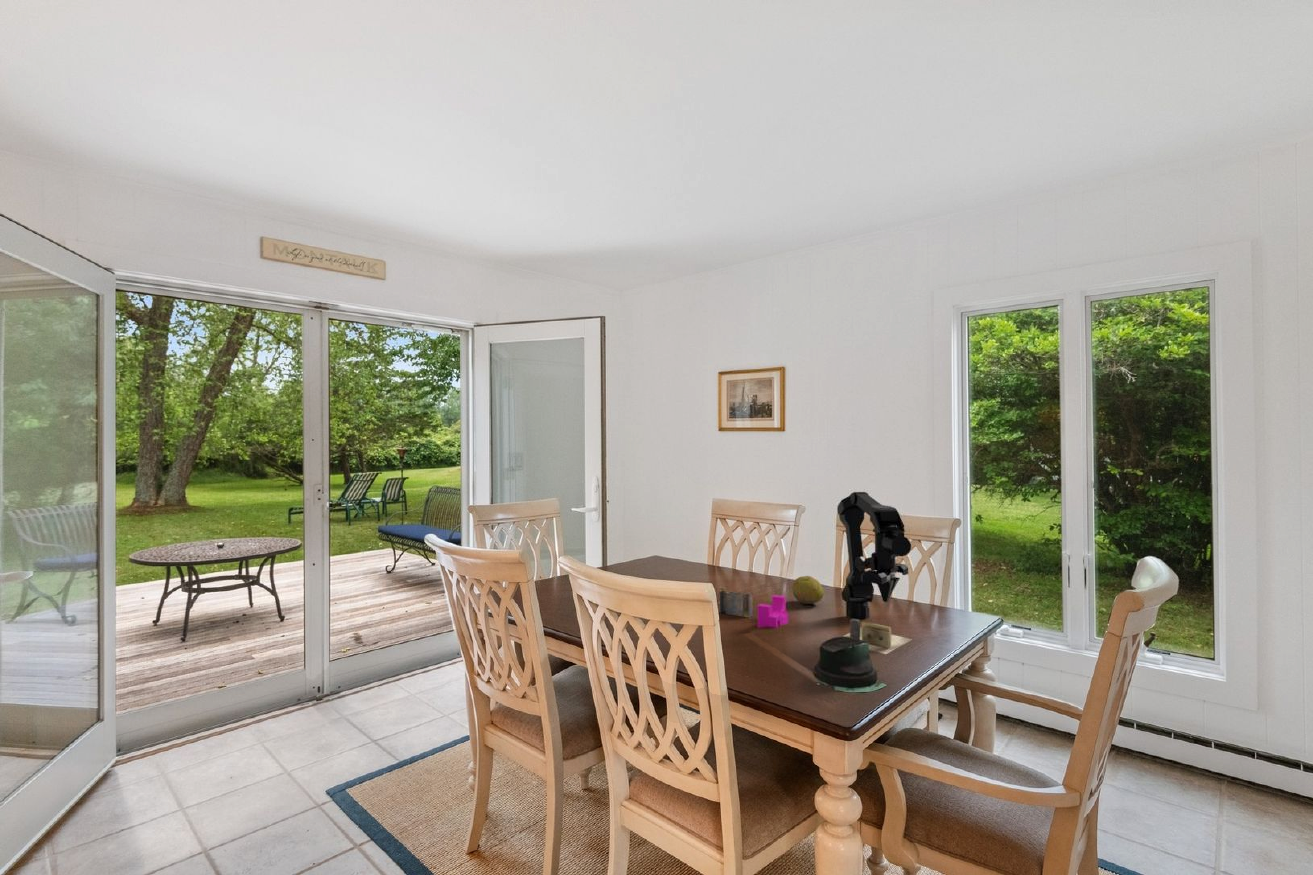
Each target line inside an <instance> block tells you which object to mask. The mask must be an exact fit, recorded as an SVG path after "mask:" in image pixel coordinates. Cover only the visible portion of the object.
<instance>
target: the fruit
mask: <svg viewBox="0 0 1313 875" xmlns="http://www.w3.org/2000/svg"><path fill="white" fill-rule="evenodd" d="M793 581H794V582H793V583H792V585H791V586H792V587H791V589H792V595H793V597H794V598H795V599H796V600H797V602H800V603H801V604H803V605H813V604H816V603H818V602H820V601H821V600H822V599H823V598H824V595H825V593H824V588H823V586H822V585H821V583H820V581H819V580H818V579H816V578H814V577H813V576H810V575H805V576H802V575H801V576H799V577H797V578H796V579H795V580H793Z"/></svg>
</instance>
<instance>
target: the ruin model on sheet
mask: <svg viewBox="0 0 1313 875" xmlns="http://www.w3.org/2000/svg"><path fill="white" fill-rule="evenodd" d="M719 590H720V591H719V592H718V593H719V595H718V596H719V598H718V599H719V600H718V602H719V604H718V606H719V614H721V613H725V615H730V614H731V616H737V617H738V616H739V617H744V618H749V619H750V618H751V616H752V617H753V614H754V613H753V611H754V610H753V606H754V605H753V603H754V602H753V598H754V597H753V594H751V593H743V592H737V591H736V592H735V591H730V590H729V591H728V590H727V587H725V586H724V587H721V586H719ZM724 611H725V612H724Z"/></svg>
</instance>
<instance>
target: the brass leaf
mask: <svg viewBox="0 0 1313 875" xmlns="http://www.w3.org/2000/svg"><path fill="white" fill-rule="evenodd" d="M863 626H866V627H871V628H875V629H879V630H884V631H888V632H889V647H890V646H891V635H892V627H890V626H887V625H882V624H878V623H873V622H870V621H866V620H862V621H861V628H862V640H863Z"/></svg>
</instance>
